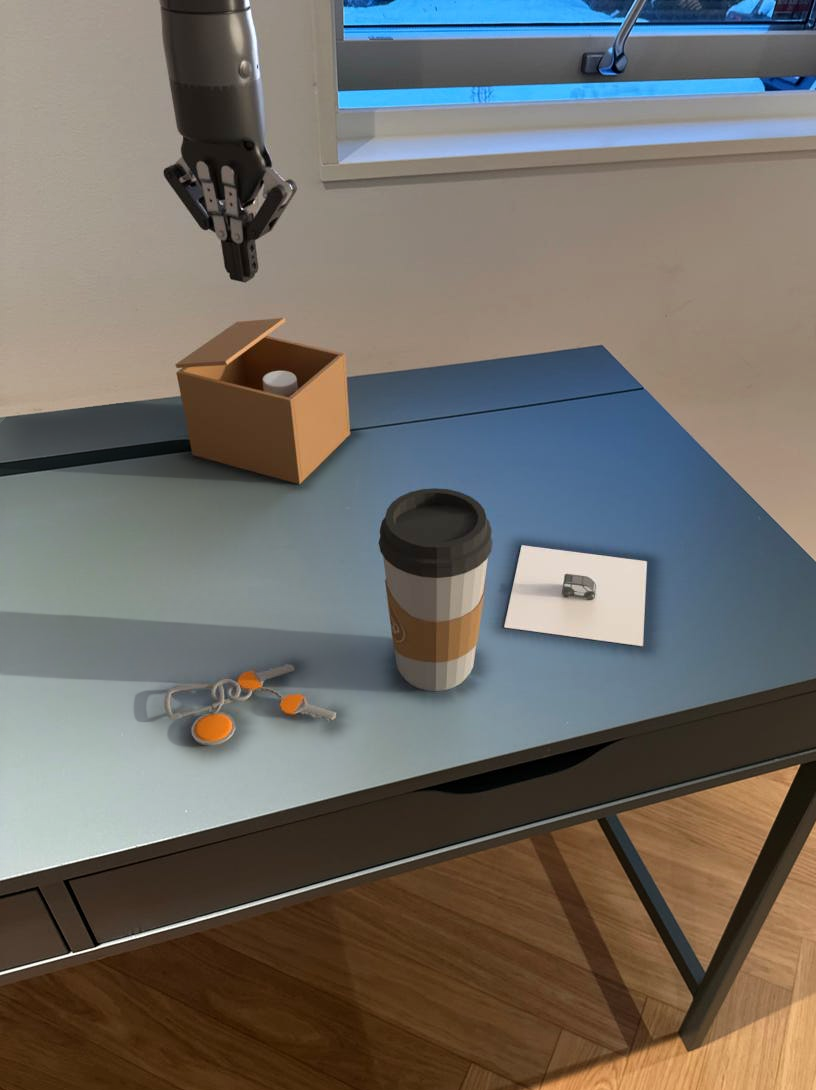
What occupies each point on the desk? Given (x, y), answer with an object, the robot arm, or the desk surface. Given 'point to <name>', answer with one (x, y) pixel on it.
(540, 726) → the desk surface
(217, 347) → the bin flap
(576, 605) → the white square mat
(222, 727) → the key chain
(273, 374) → the pill bottle
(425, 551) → the coffee cup
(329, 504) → the desk surface
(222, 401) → the carton
